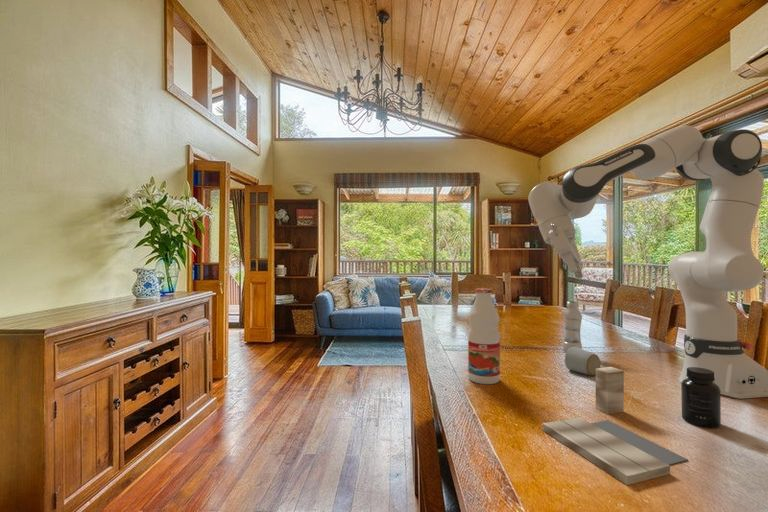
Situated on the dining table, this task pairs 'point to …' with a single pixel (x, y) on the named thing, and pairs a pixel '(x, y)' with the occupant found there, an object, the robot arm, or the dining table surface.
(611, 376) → the gray rectangular block
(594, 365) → the grey cylinder
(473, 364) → the fruit juice
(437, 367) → the dining table surface
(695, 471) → the dining table surface
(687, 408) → the supplement bottle
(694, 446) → the dining table surface
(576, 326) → the plastic bottle
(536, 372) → the dining table surface
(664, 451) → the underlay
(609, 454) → the floor panel
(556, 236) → the robot arm
